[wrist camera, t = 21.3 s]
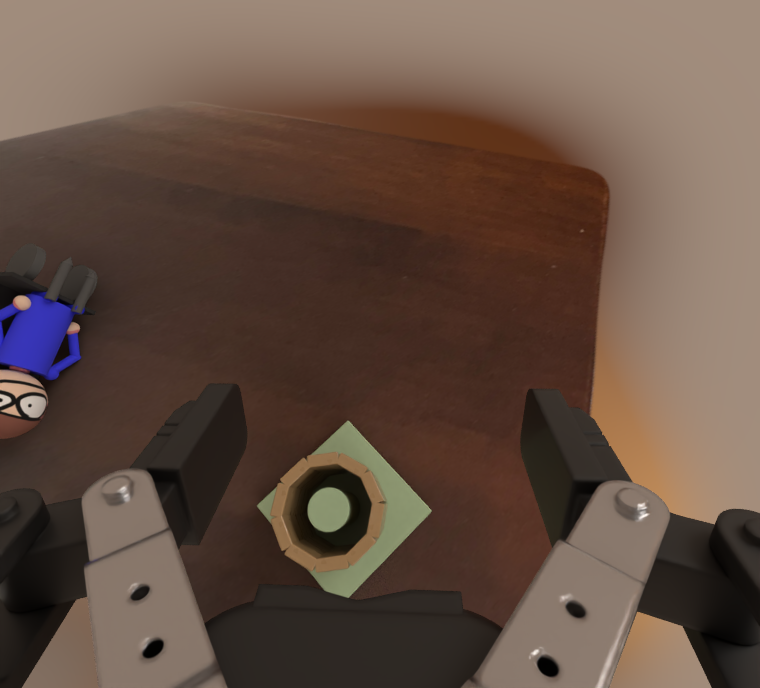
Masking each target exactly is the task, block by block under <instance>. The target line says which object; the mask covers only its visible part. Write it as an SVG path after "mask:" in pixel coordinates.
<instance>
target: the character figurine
mask: <svg viewBox="0 0 760 688" xmlns="http://www.w3.org/2000/svg"><path fill="white" fill-rule="evenodd" d="M45 260H46V252H45V250H43V249H42V248H40V247H38V246H36V245H34V244H26V245H24V246H23V247H21V248H20V249H19V250H18V251H17V252H16V253H15V254H14V255H13V256H12V258H11V259H10V261H9V263H8V265H7V267H6V271H5V272H0V439H6V438H12V437H16V436H19V435H22V434H24V433H26V432H28V431H30V430H31V429H33V428H34V427H35V426H36V425H38V424H39V422H40V421H41V420H42V419H43V417H44V415H45V413H46V411H47V407H48V397H47V393H46V391H45V389H44V387H43V386H42V384H41V383H40V382H39V381H38V378H39V376H40V375H41V376H44V378H45V379H47V380H55V379H56V378H58V376H59V372H60V371H62V370H64V369H65V368H67V367H68V366H70V365H72V364H73V363H75V362H76V361H78V360H80V359H81V356H80V350H79V341H78V332H79V330H80V326H79V325H78V324H77V323H75V322H71V321H72V319H73V317H74V315H75V314H78V315H81V314H82V315H95V313H96V311H94V310H92V309H90V308H87V307H85V305H86V303H87V301H88V299H89V298H90V297H91V295H92V294H93V292H94V290H95V288H96V285H97V274H96V272H95V271H93V270H92V269H90V268H88V267H86V266H84V265H78V266H75V267H73V264H72V259H71V257H70V258H68V259H66V260H64V261H63V262H61V264H60V266H59V268H58V270H57V272H56V274H55V276H54V278H53V280H52V282H51V284H50V286H49V288H46V287H44V286H42V285H39V284H37V283H35V282H33V281H32V280H33V279H34V278H35V277H36V276H37V275H38V274H39V272H40V271H41V269H42V268H43V266H44V263H45ZM72 267H73V268H72ZM71 268H72V269H71ZM66 334H67V335H68V344H69V353H70V355H69V356H68V357H66V358H65V359H63V360H61V361H60V362H58V363H56V364H55V365H53V366H51V365H52V363H53V361H54V359H55V357H56V354H57V352H58V350H59V348H60V346H61V343H62V341H63V339H64V337H65V335H66Z"/></svg>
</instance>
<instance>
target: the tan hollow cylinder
mask: <svg viewBox="0 0 760 688" xmlns="http://www.w3.org/2000/svg"><path fill="white" fill-rule="evenodd" d="M345 473H352V474H353V475H355V476H357V477H359V478H360V479H361V480H362V482H363V485H364V487H365V489H366V491H367V494H368V496H369V498H370V501H371V503H372V506H371V512H370V517H369V522H368V528H367V533H366V534H365V535H364V536H363V537H362V538H361V539H360V540H359V541H358V542H357V543H355V544H348V545H341V546H335V545H333V544H331V543H330V542H328V541H326V540H325V539H323V538H321V537H320V536H318V535H317V534H316V532H315V529H314V527H313V525H312V524H311V522H310V520H309V518H308V512H307V511H308V504H309V501H310V499H311V497H312V495H313V491H314V490H315V489H316V488H317V487H318V486H319V485H320V484H321V483H322V482H323V481H324V480H325V479H326V478H328V477H329V476H331V475H338V474H345ZM280 480H281V482H282V483H283V484H282V483H278V484H277V488H276V492H275V496H274V500H273V504H272V508H271V513H270V516H273V517H274V518H272V519H271V524H272V527H273V529H274V532H275V535H276V538H277V540H278V543H279V546H280V548H281V550H282V551H284V550H286V549H287V550H286V552H285V555H286V556H287V557H289V558H290V559H292V560H294V561H295V562H297V563H298V564H300V565H301V566H303V567H305V568H306V569H308V570H309V571H313V570H314V569H315V570H316V573H319V572H327V571H334V570H341V569H348V568H349V567H350V566H354V565H355V564H356V563H357V562H358V561H359V560H360V558H361V557H362V556H363V555H364V554H365V553H366V552H367V551H368V550H369V549H370V548H371V547H372V546H373V545H374V544H375V543H376V542H377V540H378V539H379V537H380V535H381V534H382V531H383V530H384V524H385V518H386V513H387V507H388V504H385V502H387V499H386V496H385V494H384V492H383V490H382V488H381V485H380V483H379V481H378V479H377V477H376V476H375V475H374V474H373V473H372V472H371V471H370V470H369V469H368V467H366V466H365V465H363V464H361V463H359V462H358V461H356V460H354V459H352V458H351V457H349V456H347V455H345V454H343V453H340V454H339V453H338V452H330V453H323V454H316V455H308V456H307V459H305V458H302V459H301V460H300V461H299V462H298V463H297V464H296V465H295V466H294V467H293V468H291V469H290V470H289V471H288V472H287V473H286V474H285V475H284V476H283V477H282V478H281V479H280Z"/></svg>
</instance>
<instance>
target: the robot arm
mask: <svg viewBox="0 0 760 688" xmlns="http://www.w3.org/2000/svg"><path fill="white" fill-rule="evenodd" d="M520 443H521V454H522V458H523V461H524V464H525V467H526V470H527V473H528V476H529V479H530V482H531V485H532V488H533V491H534V494H535V497H536V500H537V503H538V506H539V509H540V512H541V515H542V518H543V521H544V524H545V527H546V530H547V533H548V536H549V539H550V542H551V545H552V550H551V551H550V553H549V555H548V556H547V558H546V560H545V561H544V563H543V565H542V566H541V568H540V569H539V571H538V573H537V574H536V576H535V578H534V579H533V581H532V583H531V584H530V586H529V587H528V589H527V591H526V592H525V594H524V596H523V597H522V599H521V601H520V602H519V604H518V605H517V607H516V609H515V610H514V612H513V614H512V615H511V617H510V619H509V620H508V622H507V623H506V625H505V627H504V628H501V627H500V626H499V625H497V624H496V623H494V622H492V621H491V620H489V619H487V618H485V617H483V616H481V615H479V614H476V613H474V612H471V611H468V610H465V609H463V605H462V597H461V592H459V591H432V590H407V591H402V592H397V593H392V594H387V595H383V596H378V597H373V598H368V599H363V600H354V599H350V598H347V597H344V596H340V595H337V594H334V593H330V592H327V591H323V590H320V589H317V588H313V587H310V586H298V585H271V584H259V587H258V590H257V593H256V596H255V599H254V601H253V602H249V603H245V604H242V605H239V606H236V607H234V608H231V609H229V610H227V611H225V612H223V613H221V614H219V615H217V616H216V617H214V618H212V619H210V620H209V621H208V622H206V623H205V624H204V622H203V619H202V616H201V613H200V611H199V608H198V605H197V602H196V599H195V596H194V593H193V591H192V588H191V585H190V582H189V579H188V576H187V573H186V570H185V568H184V565H183V562H182V559H181V556H180V553H179V548H180V546H181V545H199V544H200V542H201V540H202V538H203V536H204V534H205V532H206V530H207V528H208V526H209V524H210V522H211V519H212V517H213V515H214V513H215V511H216V509H217V507H218V505H219V503H220V501H221V499H222V497H223V495H224V493H225V491H226V488H227V486H228V484H229V482H230V480H231V478H232V476H233V474H234V472H235V470H236V468H237V466H238V464H239V462H240V459H241V457H242V455H243V453H244V451H245V448H246V444H247V426H246V420H245V415H244V409H243V403H242V397H241V392H240V388H239V386H238V385H237V384H208V385H207V387H206V388H205V389H204V391H203V392H202V393H201V395H200V396H199V397H198V399H197V400H196V401H189V402H187V403H186V404H184V405H183V406H181V407H180V408H178V409H177V410H175V411H174V412H173V413H172V415H171V416H170V417H169V418H168V420H167V421H166V422H165V425H164V426H162V427H161V429H160V430H159V431H158V432H157V436H154V437H153V439H152V440H151V441H150V443H149V444H148V445H147V446H146V448H145V449H144V450H143V451H142V453H141V454H140V455H139V457H138V458H137V459H136V460H135V462H134V463H133V464H132V465H131V467H130V468H129V469H124V470H120V471H116V472H113V473H111V474H108V475H106V476H104V477H102V478H101V479H99V480H98V481H96V482H95V483H94V484H92V485H91V486H90V487H89V488H88V489H87V491H86V492H85V493H84V495H83V498H78V499H73V500H68V501H63V502H58V503H53V504H49V505H45V503H44V500H43V498H42V496H41V494H40V493H39V492H38V491H36V490H34V489H27V488H23V489H15V490H11V491H7V492H4V493H1V494H0V688H22V686H23V685H24V683H25V681H26V680H27V678H28V677H29V675H30V673H31V672H32V670H33V668H34V667H35V665H36V663H37V662H38V660H39V659H40V657H41V656H42V654H43V652H44V651H45V649H46V647H47V646H48V644H49V643H50V641H51V639H52V638H53V636H54V635H55V633H56V631H57V630H58V628H59V626H60V625H61V623H62V622H63V620H64V618H65V617H66V615H67V613H68V612H69V610H70V609H71V607H72V605H73V603H74V602H75V601H76V599H80V598H84V597H88V605H89V613H90V622H91V630H92V637H93V646H94V654H95V662H96V670H97V678H98V686H99V688H609V687H610V684H611V681H612V679H613V676H614V673H615V670H616V668H617V665H618V662H619V659H620V656H621V654H622V651H623V649H624V646H625V643H626V640H627V637H628V635H629V632H630V629H631V627H632V624H633V621H634V619H635V616H636V613H637V611H638V612H641V613H644V614H647V615H650V616H653V617H656V618H659V619H662V620H666V621H669V622H672V623H675V624H678V625H681V626H683V628H684V630H685V632H686V634H687V636H688V639H689V641H690V643H691V645H692V647H693V649H694V651H695V653H696V655H697V657H698V660H699V662H700V664H701V666H702V668H703V670H704V672H705V674H706V676H707V679H708V681H709V683H710V685H711V687H712V688H760V513H757V512H754V511H750V510H744V509H729V510H726V511H723V512H722V513H721V514H720V515H719V516H718V518H717V521H716V523H715V525H714V524H710V523H707V522H703V521H699V520H695V519H691V518H686V517H683V516H679V515H676V514H673V513H670V512H669V510H668V507H667V506H666V504H665V503H664V502H663V501H662V499H661V498H659V496H657V495H656V494H655V493H653V492H652V491H650V490H649V489H647V488H645V487H643V486H641V485H638V484H635V483H633V482H632V480H631V479H630V477H629V476H628V474H627V472H626V471H625V469H624V467H623V466H622V464H621V462H620V461H619V459H618V458H617V456H616V454H615V453H614V451H613V450H612V448H611V446H609V444H608V441H607V440H606V438H605V436H604V435H602V432H601V430H600V428H599V427H598V425H597V423H596V422H595V420H594V419H593V418H592V417H590V416H589V415H588V414H587V413H585V412H584V411H583V410H581V409H580V408H569V407H568V405H567V403H566V401H565V400H564V398H563V396H562V394H561V392H560V391H559V390H558V389H529V390H528V392H527V396H526V403H525V410H524V416H523V423H522V430H521V441H520Z"/></svg>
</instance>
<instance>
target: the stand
mask: <svg viewBox="0 0 760 688" xmlns="http://www.w3.org/2000/svg"><path fill="white" fill-rule="evenodd" d="M330 452H338V453H339V454H340V453H343V454H345V455H347V456H349V457H351V458H352V459H354V460H356V461H358V462H359V463H361V464H363V465H365V466H366V467H368V469H369V470H370V471H371V472H372V473H373V474H374V475H375V476H376V477H377V479H378V481H379V483H380V485H381V488H382V490H383V492H384V494H385V496H386V499H387V502H385V504H388V507H387V513H386V518H385V524H384V530H383V531H382V534H381V535H380V537H379V539H378V540H377V542H376V543H375V544H374V545H373V546H372V547H371V548H370V549H369V550H368V551H367V552H366V553H365V554H364V555H363V556H362V557H361V558H360V560H359V561H358V562H357V563H356V564H355V565H354V566H350V567H349V568H348V569H341V570H334V571H327V572H319V573H316V570H315V569H314V570H313V571H309V570H308V571H309V572H310V573H311V574H312V576H313V577H314V578H315V579H316V581H317V582H318V583H319V584H320V586H321V587H322V588H323V589H324V591H327V592H330V593H334V594H337V595H340V596H344V597H347V598H349V597H350V596H351V595H352V594H353V593H354V592H355V591H356V589H357V588H358V587H359V586H360V585H361V584H362V583H363V582H364V581H365V580H366V579H367V578H368V577H369V576H370V575H371V574H372V573H373V572H374V571H375V570H376V569H377V568H378V567H379V566H380V565H381V564H382V563H383V562H384V560H385V559H386V558H387V557H388V556H389V555H390V554H391V553H392V552H393V551H394V550H395V549H396V548H397V547H398V546H399V545H400V544H401V543H402V542H403V541H404V540H405V539H406V538H407V537H408V536H409V535H410V534H411V533H412V531H413V530H414V529H415V528H416V527H417V526H418V525H419V524H420V523H421V522H422V521H423V520H424V519H425V518H426V517H427V516H428V515H429V514H430V513H431V509H430V508H429V507H428V506H427V505H426V504H425V503H424V502H423V501H422V499H421V498H420V497H419V496H418V495H417V494H416V493H415V492H414V491H413V490H412V489H411V488H410V487H409V485H408V484H407V483H406V482H405V481H404V480H403V479H402V478H401V477H400V476H399V475H398V474H397V473H396V471H395V470H394V469H393V468H392V467H391V466H390V465H389V464H388V463H387V462H386V461H385V460H384V458H383V457H382V456H381V455H380V454H379V453H378V452H377V451H376V450H375V449H374V448H373V447H372V446H371V444H370V443H369V442H368V441H367V440H366V439H365V438H364V437H363V436H362V435H361V434H360V433H359V432H358V430H357V429H356V428H355V427H354V426H353V425H352V424H351V423H350V422H349V421H347V422H346V423H345V424H343V425H342V426H341V427H340V428H339V429H338V430H337V431H336V432H335V433H334V434H333V435H332V436H331V437H330V438H328V439H327V440H326V441H325V442H324V443H323V444H322V445H321V446H320V447H319V448H318V449H317V450H316V451H315V452H313V453H312V454H311V455H316V454H323V453H330ZM281 483H282V482H281ZM282 484H283V483H282ZM276 488H277V487H276ZM276 488H275V489H274V490H273V491H272V492H271V493H270V494H269V495H267V496H266V497H265V498H264V499H263V500H262V501H261V502H260V503H259V504H258V505H257V507H258V508H259V509H260V511H261V512H262V513H263V514H264V516H265V517H266V518H267V519H268V521H269V522H270V523H271V519H272V518H274V517H273V516H270V513H271V508H272V504H273V500H274V496H275V492H276ZM371 506H372V503H371V501H370V498H369V496H368V494H367V491H366V489H365V487H364V485H363V482H362V480H361V479H360V478H359V477H357V476H355V475H353V474H352V473H345V474H338V475H331V476H329V477H328V478H326V479H325V480H324V481H323V482H322V483H321V484H320V485H319V486H318V487H317V488H316V489H315V490H314V491H313V495H312V497H311V499H310V501H309V504H308V511H307V512H308V518H309V520H310V522H311V524H312V525H313V527H314V529H315V532H316V534H317V535H318V536H320V537H321V538H323V539H325V540H326V541H328V542H330V543H331V544H333V545H335V546H341V545H348V544H355V543H357V542H358V541H359V540H360V539H361V538H362V537H363V536H364V535H365V534H366V533H367V528H368V522H369V517H370V512H371Z"/></svg>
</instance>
